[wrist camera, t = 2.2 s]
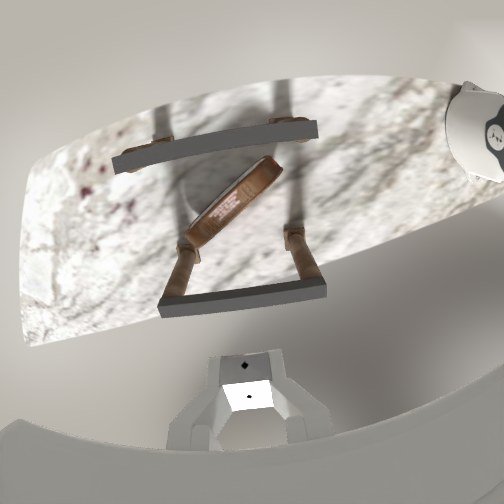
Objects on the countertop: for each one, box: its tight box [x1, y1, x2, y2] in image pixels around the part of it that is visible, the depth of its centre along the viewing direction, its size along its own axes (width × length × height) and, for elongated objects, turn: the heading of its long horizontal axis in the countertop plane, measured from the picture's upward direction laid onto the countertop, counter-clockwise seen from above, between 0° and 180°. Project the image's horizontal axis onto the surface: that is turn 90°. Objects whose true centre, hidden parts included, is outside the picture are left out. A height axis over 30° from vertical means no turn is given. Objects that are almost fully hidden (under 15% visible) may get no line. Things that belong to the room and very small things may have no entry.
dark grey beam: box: [157, 276, 327, 318], centre depth 29 cm, size 18×2×2 cm, turn 98°
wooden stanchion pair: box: [121, 117, 322, 298], centre depth 32 cm, size 19×19×12 cm
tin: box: [184, 156, 283, 249], centre depth 34 cm, size 15×3×8 cm, turn 132°
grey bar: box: [112, 120, 318, 175], centre depth 22 cm, size 18×2×2 cm, turn 98°
